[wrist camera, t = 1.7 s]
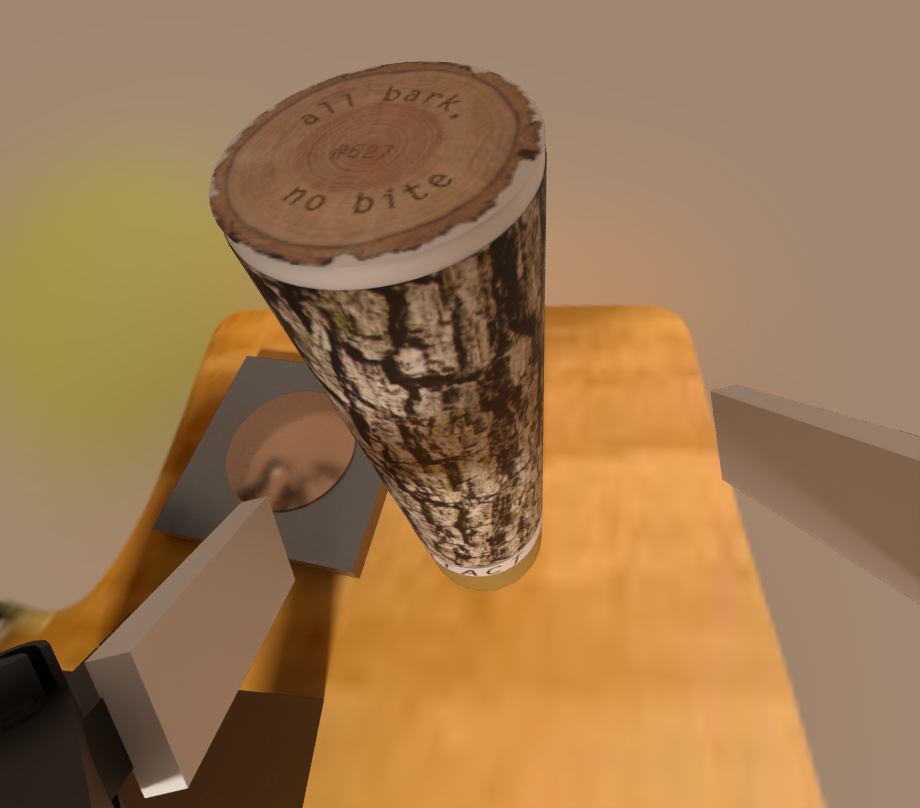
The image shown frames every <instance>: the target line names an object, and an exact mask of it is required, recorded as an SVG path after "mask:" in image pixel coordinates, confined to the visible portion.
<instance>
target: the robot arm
mask: <svg viewBox="0 0 920 808" xmlns="http://www.w3.org/2000/svg"><path fill="white" fill-rule="evenodd" d="M711 399H712V406H713V413H714V421H715V428H716V436H717V443H718V451H719V458H720V466H721V473H722V480H724V481H726V482H727V483H729V484H730V485H732V486H734V487H735V488H737V489H738V490H740V491H741V492H743V493H745V494H746V495H748V496H749V497H751V498H752V499H754V500H756V501H757V502H759V503H760V504H762V505H763V506H765V507H767V508H768V509H770V510H772V511H773V512H775V513H776V514H778V515H779V516H781V517H783V518H784V519H786V520H787V521H789V522H791V523H792V524H794V525H795V526H797V527H798V528H800V529H801V530H803V531H805V532H806V533H808V534H809V535H811V536H813V537H814V538H816V539H817V540H819V541H820V542H822V543H823V544H825V545H827V546H828V547H830V548H831V549H833V550H835V551H836V552H838V553H839V554H841V555H843V556H844V557H846V558H847V559H849V560H850V561H852V562H853V563H855V564H857V565H858V566H860V567H862V568H863V569H865V570H866V571H868V572H869V573H871V574H872V575H874V576H876V577H877V578H879V579H880V580H882V581H884V582H885V583H887V584H888V585H890V586H891V587H893V588H895V589H896V590H898V591H899V592H901V593H903V594H904V595H906V596H907V597H909V598H910V599H912V600H913V601H915V602H917V603H918V604H920V436H917V435H913V434H910V433H906V432H903V431H898V430H894V429H891V428H887V427H884V426H880V425H877V424H873V423H870V422H866V421H863V420H859V419H856V418H852V417H848V416H845V415H841V414H838V413H834V412H831V411H827V410H824V409H820V408H817V407H813V406H810V405H806V404H803V403H799V402H795V401H792V400H789V399H785V398H782V397H778V396H775V395H771V394H768V393H764V392H760V391H757V390H753V389H750V388H746V387H743V386H739V385H733V386H729V387H725V388H721V389H716V390H712V391H711ZM294 582H295V578H294V575H293V572H292V569H291V566H290V563H289V560H288V557H287V554H286V551H285V548H284V545H283V542H282V539H281V536H280V533H279V530H278V527H277V524H276V521H275V518H274V515H273V512H272V509H271V506H270V503H269V500H268V497H267V496H266V497H262V498H258V499H253V500H249V501H245V502H241V503H240V504H239V505H238V506H237V507H236V508H235V510H234V511H233V512H232V513H231V514H230V515H229V516H228V517H227V518H226V519H225V520H224V521H223V522H222V523H221V524H220V525H219V526H218V527H217V528H216V529H215V530H214V531H213V532H212V533H211V534H210V535H209V536H208V537H207V538H206V539H205V540H204V541H203V542H202V543H201V544H200V545H199V546H198V547H197V548H196V549H195V550H194V551H193V552H192V553H191V554H190V555H189V556H188V557H187V558H186V559H185V560H184V561H183V562H182V563H181V564H180V565H179V566H178V568H177V569H176V570H175V571H174V572H173V573H172V574H171V575H170V576H169V577H168V578H167V579H166V580H165V581H164V582H163V583H162V584H161V585H160V586H159V587H158V588H157V589H156V590H155V591H154V592H153V593H152V594H151V595H150V596H149V597H148V598H147V599H146V600H145V601H144V602H143V603H142V604H141V605H140V606H139V607H138V608H137V609H136V610H135V611H134V612H132V613H131V614H129V615H128V616H127V617H126V618H125V619H124V620H123V621H122V622H121V623H120V624H119V625H118V626H117V627H116V628H115V629H114V630H113V634H109V635H108V636H107V637H106V638H105V639H104V640H103V641H102V642H101V643H100V644H99V645H100V647H98V648H95V650H94V651H93V652H92V653H91V654H90V655H89V656H88V657H87V658H86V659H85V660H84V661H83V662H82V663H81V664H80V665H79V666H78V667H77V668H76V669H75V670H74V671H73V672H72V673H71V674H70V675H69V676H68V677H67V678H65V676H64V674H63V672H62V670H61V667H60V665H59V663H58V661H57V659H56V657H55V654H54V652H53V650H52V648H51V646H50V644H49V643H48V642H47V641H46V640H39V641H32V642H28V643H25V644H21V645H18V646H16V647H13V648H11V649H8V650H6V651H4V652H1V653H0V808H125V807H124V805H123V802H122V800H121V798H120V796H119V794H118V791H119V789H120V788H121V786H122V785H123V783H124V782H125V780H126V779H127V777H128V776H129V774H130V773H131V771H133V773H134V775H135V777H136V780H137V782H138V784H139V786H140V789H141V791H142V793H143V795H144V798H148V797H152V796H156V795H161V794H165V793H169V792H174V791H178V790H182V789H186V788H188V787H189V785H190V783H191V781H192V779H193V777H194V775H195V773H196V771H197V769H198V767H199V766H200V764H201V762H202V760H203V758H204V756H205V754H206V752H207V750H208V748H209V746H210V744H211V742H212V740H213V738H214V737H215V735H216V733H217V731H218V729H219V727H220V725H221V723H222V721H223V719H224V717H225V715H226V713H227V711H228V709H229V708H230V706H231V704H232V702H233V700H234V698H235V696H236V694H237V692H238V690H239V688H240V686H241V684H242V682H243V680H244V678H245V677H246V675H247V673H248V671H249V669H250V667H251V665H252V663H253V661H254V659H255V657H256V655H257V653H258V651H259V649H260V648H261V646H262V644H263V642H264V640H265V638H266V636H267V634H268V632H269V630H270V628H271V626H272V624H273V622H274V620H275V619H276V617H277V615H278V613H279V611H280V609H281V607H282V605H283V603H284V601H285V599H286V597H287V595H288V593H289V591H290V590H291V588H292V586H293V584H294Z"/></svg>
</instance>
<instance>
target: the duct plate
mask: <svg viewBox="0 0 920 808" xmlns="http://www.w3.org/2000/svg"><path fill="white" fill-rule="evenodd" d="M387 491H388V489H387V487H386V486H385V484H384V483H383V481H382V480H381V478H380V477H379V475H378V474H377V472H376V470H375V469H374V467H373V466H372V464H371V463H370V461H369V460H368V458H367V457H366V455H365V454H364V452H363V450H362V449H361V447H360V446H359V444H358V443H357V441H356V440H355V438H354V437H353V435H352V434H351V432H350V430H349V429H348V427H347V426H346V424H345V423H344V421H343V420H342V418H341V417H340V415H339V413H338V412H337V410H336V409H335V407H334V406H333V404H332V403H331V401H330V400H329V398H328V397H327V395H326V393H325V392H324V390H323V389H322V387H321V386H320V384H319V383H318V381H317V380H316V378H315V377H314V375H313V373H312V372H311V370H310V369H309V367H308V366H307V364H306V363H302V362H294V361H285V360H277V359H269V358H260V357H252V356H247V357H246V358H245V360H244V362H243V364H242V366H241V368H240V369H239V371H238V373H237V375H236V377H235V379H234V380H233V382H232V384H231V386H230V388H229V390H228V391H227V393H226V395H225V397H224V399H223V401H222V402H221V404H220V406H219V408H218V410H217V411H216V413H215V415H214V417H213V419H212V421H211V422H210V424H209V426H208V428H207V430H206V432H205V433H204V435H203V437H202V439H201V441H200V443H199V444H198V446H197V448H196V450H195V452H194V454H193V455H192V457H191V459H190V461H189V463H188V465H187V466H186V468H185V470H184V472H183V474H182V475H181V477H180V479H179V481H178V483H177V485H176V486H175V488H174V490H173V492H172V494H171V496H170V497H169V499H168V501H167V503H166V505H165V507H164V508H163V510H162V512H161V514H160V516H159V518H158V519H157V521H156V523H155V525H154V527H153V529H155V530H157V531H159V532H161V533H163V534H165V535H167V536H171V537H175V538H180V539H184V540H189V541H193V542H198V543H202V542H203V541H204V540H205V539H206V538H207V537H208V536H209V535H210V534H211V533H212V532H213V531H214V530H215V529H216V528H217V527H218V526H219V525H220V524H221V523H222V522H223V521H224V520H225V519H226V518H227V517H228V516H229V515H230V514H231V513H232V512H233V511H234V510H235V508H236V507H237V506H238V505H239V504H240V503H241V502H245V501H249V500H253V499H258V498H262V497H266V496H267V497H268V500H269V503H270V506H271V509H272V512H273V515H274V518H275V521H276V524H277V527H278V530H279V533H280V536H281V539H282V542H283V545H284V548H285V551H286V554H287V557H288V560H289V563H292V564H297V565H301V566H305V567H310V568H314V569H319V570H323V571H328V572H332V573H337V574H341V575H346V576H350V577H355V578H360V575H361V572H362V569H363V566H364V562H365V559H366V556H367V553H368V550H369V547H370V544H371V541H372V538H373V534H374V531H375V528H376V525H377V522H378V519H379V516H380V513H381V510H382V507H383V503H384V500H385V497H386V494H387Z"/></svg>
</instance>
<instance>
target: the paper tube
mask: <svg viewBox="0 0 920 808" xmlns="http://www.w3.org/2000/svg"><path fill="white" fill-rule="evenodd" d="M546 155H547V154H546V148H545V125H544V120H543V117H542V114H541V112H540V109H539V108H538V106H537V105H536V103H535V101H534V100H533V99H532V98H531V97H530V96H529V94H528V93H527V92H526V91H524V90H523V89H522V88H521V87H520V86H518V85H517V84H515V83H514V82H512V81H511V80H509V79H507V78H504V77H503V76H501V75H499V74H496V73H494V72H491V71H488V70H485V69H481V68H478V67H474V66H469V65H464V64H457V63H448V62H405V63H395V64H388V65H382V66H375V67H370V68H366V69H361V70H357V71H353V72H350V73H346V74H343V75H340V76H336V77H333V78H331V79H328V80H325V81H322V82H320V83H317V84H315V85H313V86H310V87H308V88H306V89H304V90H302V91H300V92H298V93H296V94H293V95H292V96H290V97H288V98H286V99H284V100H283V101H281V102H279V103H278V104H276V105H274V106H273V107H271V108H270V109H268V110H267V111H266V112H264V113H263V114H261V115H260V116H259V117H257V118H256V119H255V120H254V121H252V122H251V123H250V124H249V125H248V126H247V127H246V128H245V129H243V130H242V131H241V132H240V133H239V134H238V135H237V136H236V138H235V139H234V140H233V141H232V142H231V144H230V145H229V146H228V147H227V149H226V150H225V152H224V153H223V154H222V156H221V158H220V160H219V161H218V163H217V165H216V168H215V170H214V173H213V176H212V180H211V184H210V193H209V198H210V206H211V209H212V213H213V216H214V218H215V220H216V222H217V224H218V225H219V227H220V228H221V229H222V230H223V232H224V235H225V237H226V239H227V241H228V243H229V245H230V247H231V249H232V250H233V252H234V253H235V255H236V256H237V258H238V259H239V261H240V262H241V264H242V266H243V267H244V269H245V270H246V272H247V273H248V275H249V276H250V278H251V279H252V281H253V282H254V284H255V286H256V287H257V289H258V290H259V292H260V293H261V295H262V296H263V298H264V299H265V301H266V303H267V304H268V306H269V307H270V309H271V310H272V312H273V313H274V315H275V316H276V318H277V319H278V321H279V323H280V324H281V326H282V327H283V329H284V330H285V332H286V333H287V335H288V336H289V338H290V340H291V341H292V343H293V344H294V346H295V347H296V349H297V350H298V352H299V353H300V355H301V356H302V358H303V360H304V361H305V363H306V364H307V366H308V367H309V369H310V370H311V372H312V373H313V375H314V377H315V378H316V380H317V381H318V383H319V384H320V386H321V387H322V389H323V390H324V392H325V393H326V395H327V397H328V398H329V400H330V401H331V403H332V404H333V406H334V407H335V409H336V410H337V412H338V413H339V415H340V417H341V418H342V420H343V421H344V423H345V424H346V426H347V427H348V429H349V430H350V432H351V434H352V435H353V437H354V438H355V440H356V441H357V443H358V444H359V446H360V447H361V449H362V450H363V452H364V454H365V455H366V457H367V458H368V460H369V461H370V463H371V464H372V466H373V467H374V469H375V470H376V472H377V474H378V475H379V477H380V478H381V480H382V481H383V483H384V484H385V486H386V487H387V489H388V491H389V492H390V494H391V495H392V497H393V498H394V500H395V501H396V503H397V504H398V506H399V507H400V509H401V511H402V512H403V514H404V515H405V517H406V518H407V520H408V521H409V523H410V524H411V526H412V527H413V529H414V531H415V532H416V534H417V535H418V537H419V538H420V540H421V541H422V543H423V544H424V546H425V548H426V549H427V550H428V552H429V553H430V554H431V556H432V557H433V559H434V561H435V562H436V564H437V565H438V567H439V568H440V569H441V571H442V572H443V573H444V574H445V575H446V576H447V577H448V578H450V579H451V580H452V581H454V582H455V583H457V584H459V585H461V586H463V587H466V588H469V589H473V590H480V591H490V590H497V589H500V588H503V587H506V586H508V585H510V584H512V583H514V582H516V581H517V580H519V579H520V578H521V577H522V576H523V575H524V574H525V573H526V572H527V571H528V570H529V569H530V567H531V566H532V564H533V563H534V561H535V559H536V557H537V555H538V552H539V549H540V544H541V526H542V483H543V402H544V321H545V241H546V233H545V232H546Z"/></svg>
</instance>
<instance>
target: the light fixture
mask: <svg viewBox="0 0 920 808" xmlns="http://www.w3.org/2000/svg"><path fill="white" fill-rule="evenodd" d="M62 672H63V674H64V676H65V678H67V677H68V676H69V675H70V674H71V673H72V672H71V671H62ZM323 701H324V700H323V699H316V698H307V697H297V696H288V695H279V694H270V693H261V692H252V691H243V690H238V692H237V694H236V696H235V698H234V700H233V702H232V704H231V706H230V708H229V709H228V711H227V713H226V715H225V717H224V719H223V721H222V723H221V725H220V727H219V729H218V731H217V733H216V735H215V737H214V738H213V740H212V742H211V744H210V746H209V748H208V750H207V752H206V754H205V756H204V758H203V760H202V762H201V764H200V766H199V767H198V769H197V771H196V773H195V775H194V777H193V779H192V781H191V783H190V785H189V787H188V788H186V789H182V790H178V791H174V792H169V793H165V794H161V795H156V796H152V797H148V798H144V795H143V793H142V791H141V789H140V786H139V784H138V782H137V780H136V777H135V775H134V773H133V771H131V773H130V774H129V776H128V777H127V779H126V780H125V782H124V783H123V785H122V786H121V788H120V789H119V791H118V794H119V796H120V798H121V800H122V802H123V805H124V807H125V808H302V807H303V802H304V797H305V792H306V787H307V782H308V777H309V772H310V767H311V762H312V757H313V752H314V747H315V742H316V737H317V731H318V726H319V721H320V716H321V711H322V706H323Z"/></svg>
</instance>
